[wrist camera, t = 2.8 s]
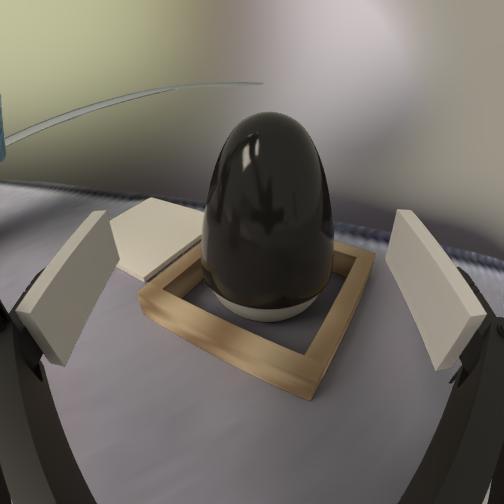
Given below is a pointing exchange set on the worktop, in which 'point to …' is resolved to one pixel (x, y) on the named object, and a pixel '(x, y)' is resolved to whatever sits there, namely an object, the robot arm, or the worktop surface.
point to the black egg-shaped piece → (268, 221)
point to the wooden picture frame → (246, 343)
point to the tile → (154, 236)
